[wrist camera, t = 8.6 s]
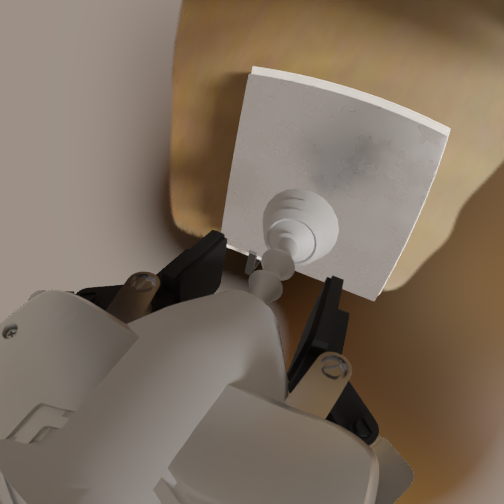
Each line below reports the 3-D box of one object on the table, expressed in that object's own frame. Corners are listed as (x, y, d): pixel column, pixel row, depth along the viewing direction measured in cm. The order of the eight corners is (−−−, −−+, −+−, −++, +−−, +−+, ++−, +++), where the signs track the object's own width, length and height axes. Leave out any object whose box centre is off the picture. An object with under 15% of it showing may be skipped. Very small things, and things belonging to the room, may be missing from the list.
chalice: (363, 267, 18) (277, 588, 3) (271, 281, 21) (122, 515, 6) (334, 158, 15) (50, 564, 1) (233, 187, 18) (-26, 397, 4)
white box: (432, 131, 22) (447, 136, 18) (366, 290, 34) (363, 320, 29) (269, 79, 26) (248, 73, 22) (237, 240, 38) (216, 262, 33)
